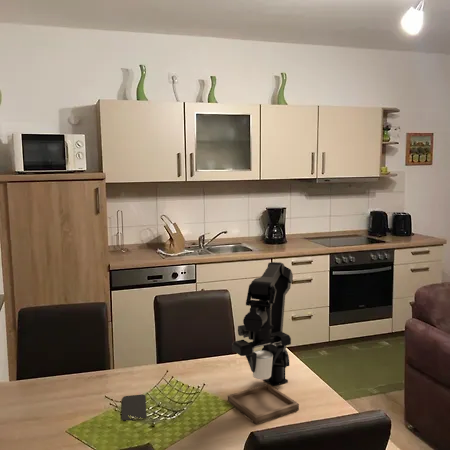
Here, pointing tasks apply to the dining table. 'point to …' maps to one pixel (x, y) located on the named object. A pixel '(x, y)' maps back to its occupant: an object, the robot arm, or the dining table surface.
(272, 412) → the walnut tray
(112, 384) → the dining table surface
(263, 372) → the shot glass
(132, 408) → the phone
